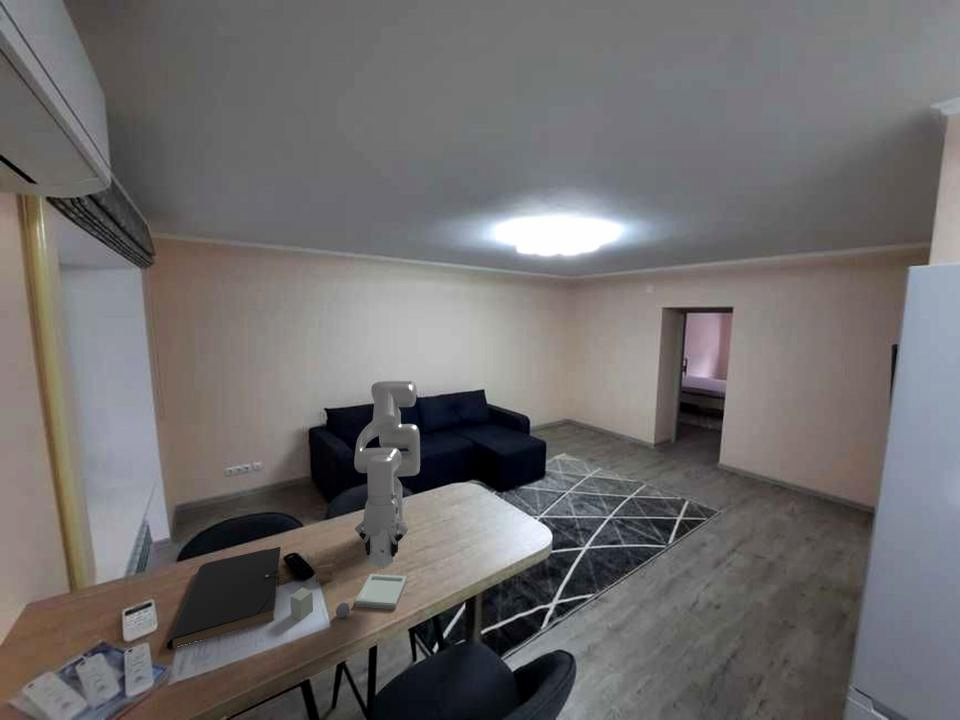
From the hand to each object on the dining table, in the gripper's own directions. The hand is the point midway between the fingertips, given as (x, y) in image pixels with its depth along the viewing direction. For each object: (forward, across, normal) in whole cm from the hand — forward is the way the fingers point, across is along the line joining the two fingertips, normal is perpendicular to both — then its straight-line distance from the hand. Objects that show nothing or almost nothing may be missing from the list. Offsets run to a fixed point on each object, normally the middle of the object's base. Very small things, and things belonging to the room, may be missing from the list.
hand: (381, 553), depth 115 cm
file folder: (+14, +45, +4) cm, 47 cm away
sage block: (+13, +20, +10) cm, 26 cm away
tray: (+13, 0, 0) cm, 13 cm away
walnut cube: (+13, +21, -6) cm, 26 cm away
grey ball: (+13, +8, +10) cm, 18 cm away
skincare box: (+3, 0, 0) cm, 3 cm away
